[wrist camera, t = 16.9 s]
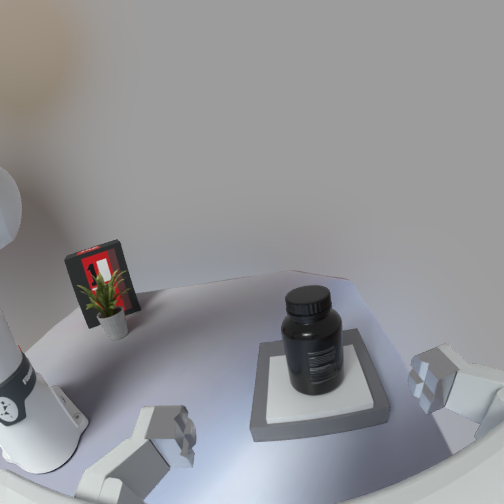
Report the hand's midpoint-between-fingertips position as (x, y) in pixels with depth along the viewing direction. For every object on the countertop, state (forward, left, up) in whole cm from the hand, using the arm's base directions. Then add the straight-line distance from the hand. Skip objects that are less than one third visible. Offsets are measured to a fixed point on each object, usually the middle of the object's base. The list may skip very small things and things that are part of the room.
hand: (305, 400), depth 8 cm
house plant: (-59, +9, -22) cm, 63 cm away
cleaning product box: (-75, +12, -22) cm, 79 cm away
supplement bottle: (-11, +17, -18) cm, 27 cm away
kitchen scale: (-13, +19, -21) cm, 31 cm away
